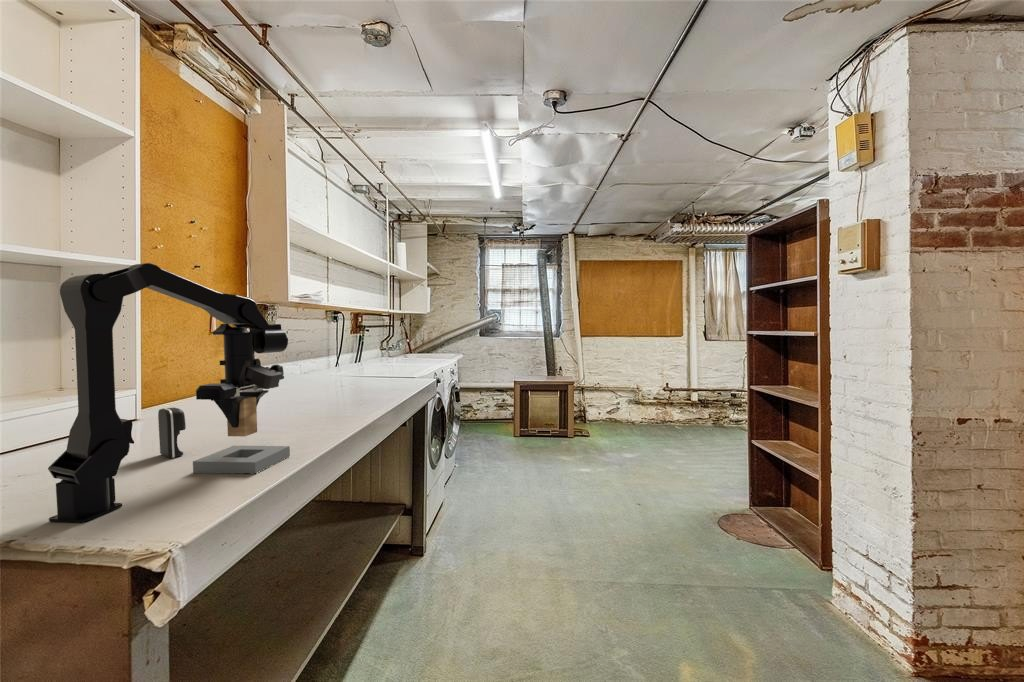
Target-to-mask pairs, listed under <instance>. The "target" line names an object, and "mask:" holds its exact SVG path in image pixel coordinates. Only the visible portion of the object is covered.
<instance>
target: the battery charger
mask: <svg viewBox="0 0 1024 682" xmlns="http://www.w3.org/2000/svg"><path fill="white" fill-rule="evenodd" d="M157 415H158V416H157V418H158V419H157V421H158V437H159V438H158V440H159V454H161V455H162V456H164V457H165V458H168V459H174V458H177V457H181V456H183V455H184V451H182V450H180V448H179V447H178V446H179V445H178V436H179V435H180V433H181V431H185V430H186V428H187V427H186V426H187V425H186V418H185V413H184V411H183V410H182V409H180V408H177V407H167V408H166V407H164V408H160V409H158V412H157Z"/></svg>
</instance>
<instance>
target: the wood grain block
mask: <svg viewBox="0 0 1024 682" xmlns="http://www.w3.org/2000/svg"><path fill="white" fill-rule="evenodd" d="M257 409H258V408H256V397H245V398H244V399H243V400H242V401H241V403H240V409H239V424H238V427H237V428H233V427H232V426H231V424H230V423H229V421H228V420H227V419H226V420H227V421H226V423H227V425H226V426H227V437H247V436H250V435H253V434H255V433H258V418H257V417H258V415H257V414H258V412H257Z"/></svg>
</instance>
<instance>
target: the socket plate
mask: <svg viewBox="0 0 1024 682" xmlns="http://www.w3.org/2000/svg"><path fill="white" fill-rule="evenodd" d="M289 456H290V457H291V449H290V445H232V446H231V445H230V446H229V447H226V448H224V449H221V450H219V451H216V452H214V453H211V454H209V455H206V456H203V457H201V458H198V459H196V460H193V461H192V473H193V474H215V473H257V472H259V471H261V470H263V469H265V468H267V467H269V466H271V465H273V464H275V463H277V462H279V461H281V460H282V461H284V460H285V459H284V458H286V459H288V458H290V457H289ZM287 457H288V458H287ZM283 459H284V460H283ZM282 461H281V462H282ZM279 463H280V462H279ZM277 464H278V463H277ZM275 465H276V464H275ZM273 466H274V465H273ZM271 467H272V466H271ZM269 468H270V467H269ZM267 469H268V468H267ZM265 470H266V469H265ZM263 471H264V470H263ZM261 472H262V471H261ZM259 473H260V472H259ZM257 474H258V473H257Z"/></svg>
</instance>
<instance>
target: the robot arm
mask: <svg viewBox="0 0 1024 682" xmlns="http://www.w3.org/2000/svg"><path fill="white" fill-rule="evenodd" d="M144 289H149V290H152V291H154V292H157V293H159V294H163V295H164V296H168V297H169V298H170V297H171V298H173V299H176V300H179V301H181V302H183V303H186V304H189V305H192V306H194V307H198V308H200V309H202V310H204V311H205V312H207V313H208V314H209V315H210V316H211V317H212V318H214V319H216V320H218V321H219V322H221V323H220V325H219V326H218V327H217V328H216V329H214V330H213V331H212V335H214V336H223V355H224V356H223V358H224V359H223V360H222V359H221V360H219V366H224V378H222V379H220V382H219V383H216V382H215V383H214V382H213V383H207V384H202V385H199V386H198V387H197V388H196V390H195V398H196V400H205V401H206V400H209V401H211V402H214V403H215V405H216V406H217V407H218V408H219V409H220V411H221V413H222V414H223V415H224V417H225V419H226V420H228V421H229V423H230V424H231V426H232V427H233V428H237V427H238V424H239V409H240V403H241V401H242V400H243V399H244V398H245V397H256V408H257V406H258V404H259V402H260V399H261V398H262V397H263V396H264V395H266V394H268V393H269V391H270V389H274V388H278V387H280V386H279V383H280V381H281V380H284V379H285V376H284V374H285V373H284V367H283V365H279V364H273V365H271V366H270V367H269V366H266V367H265V366H262V365H261V360H260V358H255V357H256V356H255V354H270V353H283V352H284V351H286V350H287V347H288V345H289V338H288V336H287V334H286V332H285V330H284V329H282V323H271V324H270V323H268V321H267V320H266V319H265V317H264V315H262V313H261V312H260V310H259V309H258V306H257V302H256V301H255V300H254V299H252V298H249V297H245V296H241V295H237V294H231V293H230V294H229V293H224V292H221V291H216V290H214V289H211V288H209V287H207V286H204V285H202V284H199V283H196V282H194V281H192V280H190V279H187V278H185V277H182V276H180V275H178V274H175V273H173V272H170V271H168V270H165V269H163V268H161V267H160V266H158V265H157V264H154V263H151V262H146V263H144V262H143V263H137V264H132V265H130V266H129V267H126V268H123V269H118V270H115V271H109V272H108V273H92V274H91V273H90V274H82V275H74V276H71V277H69V278H67V279H66V280H64V281H62V283H61V284H60V287H59V295H60V299H61V303H62V306H63V310H64V312H65V314H66V316H67V317H68V320H69V321H70V322H71V325H72V326H73V329H74V339H75V340H74V343H75V363H76V364H75V365H76V384H77V385H76V389H77V410H78V411H77V414H76V415H77V416H76V418H75V420H74V422H73V423H72V425H71V426H70V427H71V428H70V430H69V434H68V440H67V444H66V449H65V451H63V453H62V454H61V455H60V456H58V457H57V459H55V460H54V461H53V462H52V463H51V464H50V465H49V466H48V468H47V469H48V472H49V473H50V474H51V476H52V478H53V479H59V480H60V481H59V482H57V483H56V482H55V495H56V497H55V498H56V511H57V512H56V513H57V514H56V515H53V516H50V517H48V522H60V523H61V522H64V523H66V522H67V523H85V522H89V521H91V520H93V519H95V518H97V517H99V516H101V515H105V514H107V513H109V512H112V511H113V510H116V509H118V508H121V507H122V506H123V502H116V486H115V485H116V483H115V482H116V481H115V479H114V477H115V476H117V474H118V471H119V467H120V466H121V464H122V463H121V462H122V461H123V460H124V458H126V456H128V454H129V452H130V447H131V444H133V445H134V443H135V440H134V439H133V437H132V431H133V420H131V419H125V418H120V415H119V413H118V412H117V408H116V406H117V405H116V386H115V384H116V381H115V360H114V359H115V358H114V354H115V353H114V335H113V334H114V333H113V331H114V326H115V324H116V322H117V320H118V318H119V316H120V314H121V312H122V307H123V302H124V297H126V296H130V295H132V294H135V293H138V292H139V291H141V290H144ZM231 325H232V326H231ZM247 329H249V330H247ZM257 409H258V408H257Z"/></svg>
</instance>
